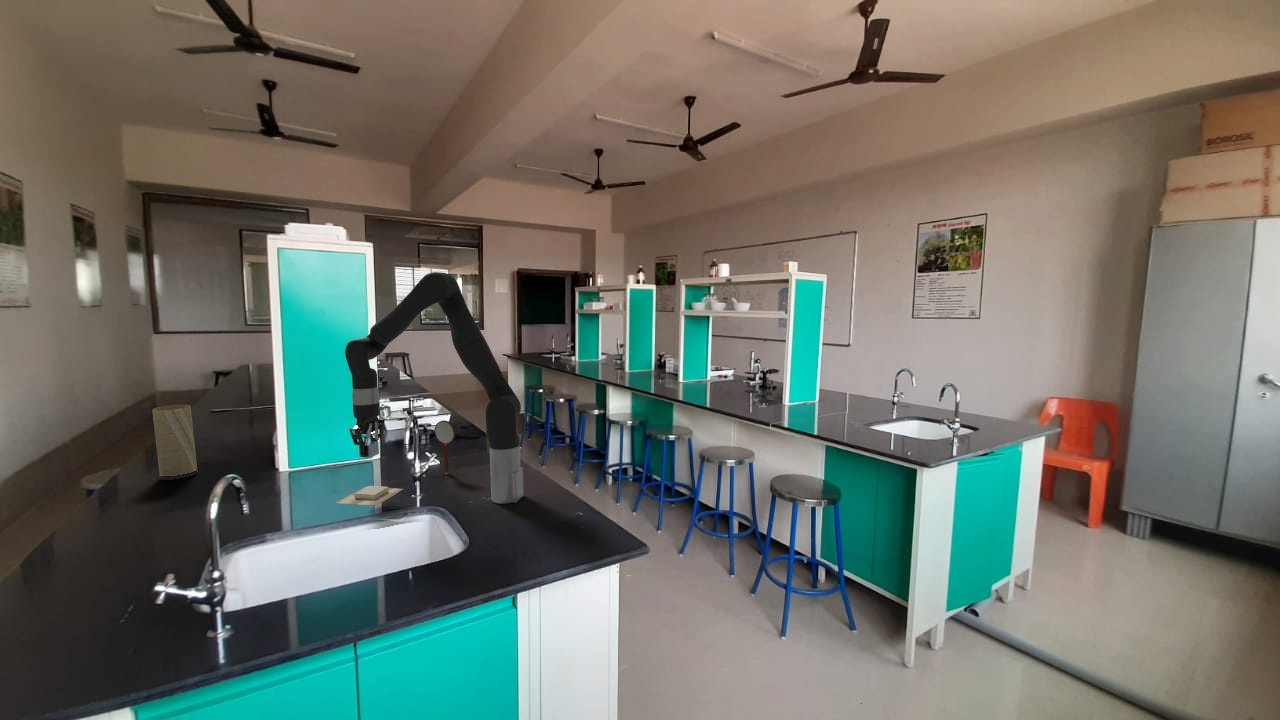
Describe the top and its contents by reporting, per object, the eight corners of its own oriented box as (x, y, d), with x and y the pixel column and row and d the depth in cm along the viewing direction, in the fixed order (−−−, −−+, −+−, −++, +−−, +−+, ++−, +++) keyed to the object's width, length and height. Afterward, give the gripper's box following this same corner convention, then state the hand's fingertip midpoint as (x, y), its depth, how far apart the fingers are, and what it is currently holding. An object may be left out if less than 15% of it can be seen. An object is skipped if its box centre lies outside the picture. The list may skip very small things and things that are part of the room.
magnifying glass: (458, 475, 185) (456, 420, 183) (455, 476, 184) (452, 421, 181) (438, 472, 188) (436, 419, 186) (435, 474, 187) (432, 420, 184)
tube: (152, 480, 180) (143, 410, 177) (178, 471, 190) (171, 404, 187) (179, 481, 179) (172, 410, 177) (204, 471, 189) (198, 404, 186)
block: (379, 453, 166) (378, 441, 166) (371, 457, 162) (370, 445, 162) (367, 453, 167) (367, 441, 166) (359, 457, 163) (358, 444, 162)
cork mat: (403, 490, 171) (403, 488, 171) (376, 506, 157) (376, 505, 157) (365, 487, 173) (365, 486, 173) (335, 504, 159) (334, 503, 159)
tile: (388, 486, 169) (374, 494, 162) (388, 491, 169) (374, 499, 162) (368, 485, 170) (354, 493, 163) (369, 490, 170) (354, 498, 163)
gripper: (361, 406, 155) (365, 462, 157) (391, 397, 169) (394, 448, 171) (339, 405, 156) (343, 461, 158) (370, 397, 170) (373, 447, 172)
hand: (369, 454), depth 164 cm, fingers closed on block, 4 cm apart
